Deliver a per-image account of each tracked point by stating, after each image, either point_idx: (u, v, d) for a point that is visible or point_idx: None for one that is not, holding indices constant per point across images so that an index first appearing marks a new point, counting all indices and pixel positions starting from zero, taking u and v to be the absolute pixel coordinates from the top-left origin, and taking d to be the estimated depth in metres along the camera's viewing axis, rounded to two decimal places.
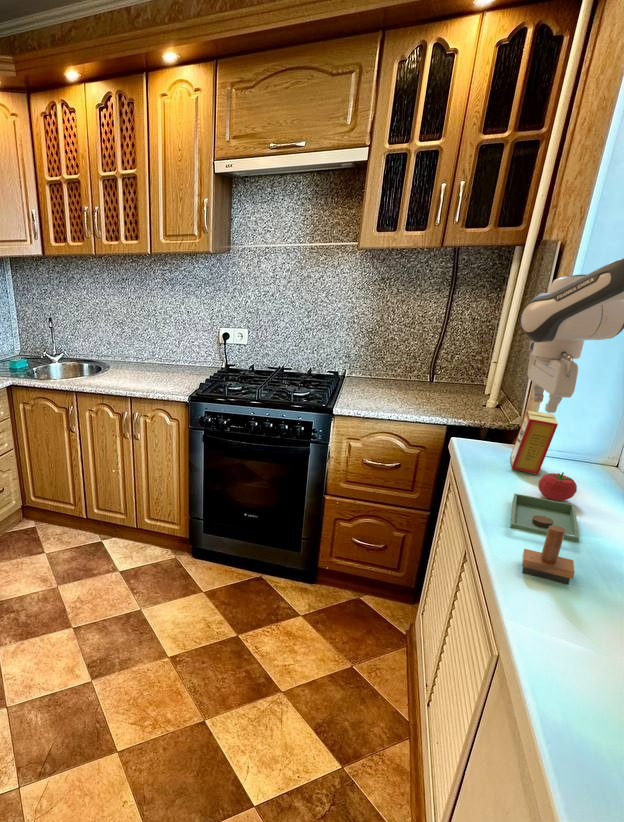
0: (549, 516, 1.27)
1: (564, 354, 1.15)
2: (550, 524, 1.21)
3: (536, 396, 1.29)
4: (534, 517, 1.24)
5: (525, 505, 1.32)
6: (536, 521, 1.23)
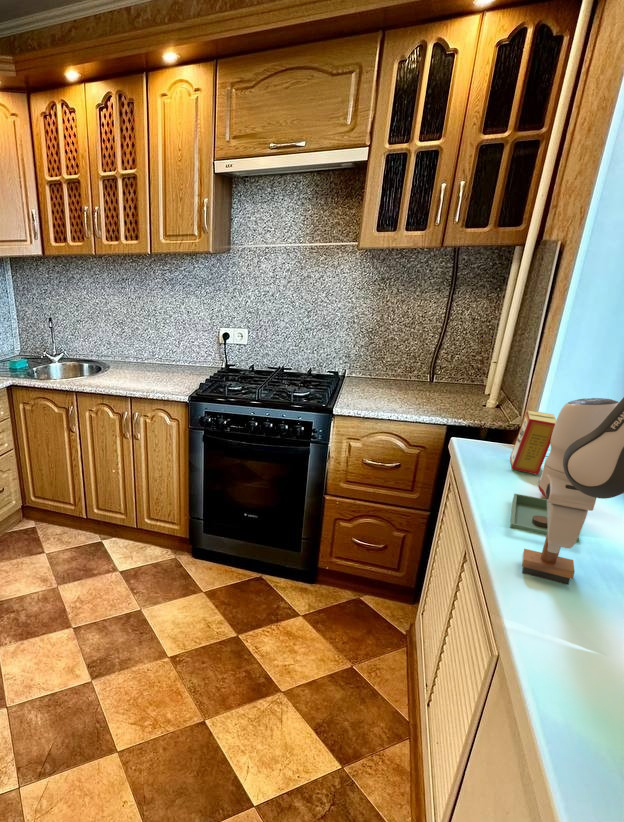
0: None
1: None
2: None
3: None
4: (534, 517, 1.24)
5: (525, 505, 1.32)
6: (536, 521, 1.23)
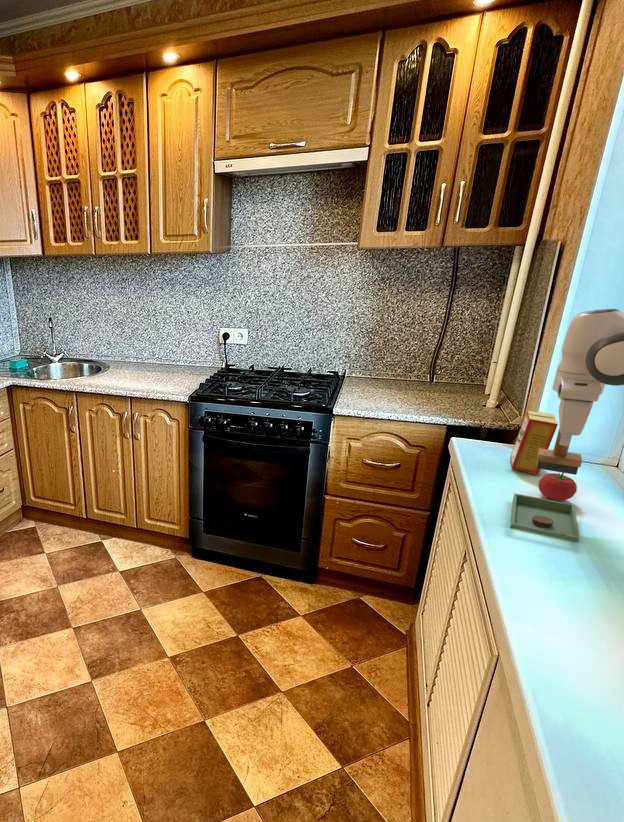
0: (549, 516, 1.27)
1: None
2: (550, 524, 1.21)
3: None
4: (534, 517, 1.24)
5: (525, 505, 1.32)
6: (536, 521, 1.23)
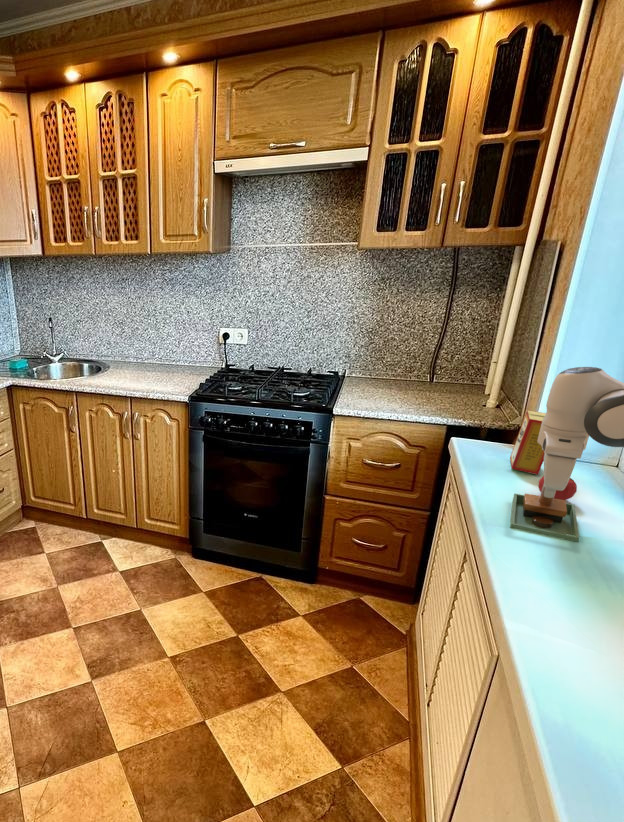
0: None
1: None
2: (550, 524, 1.21)
3: None
4: (534, 517, 1.24)
5: None
6: (536, 521, 1.22)
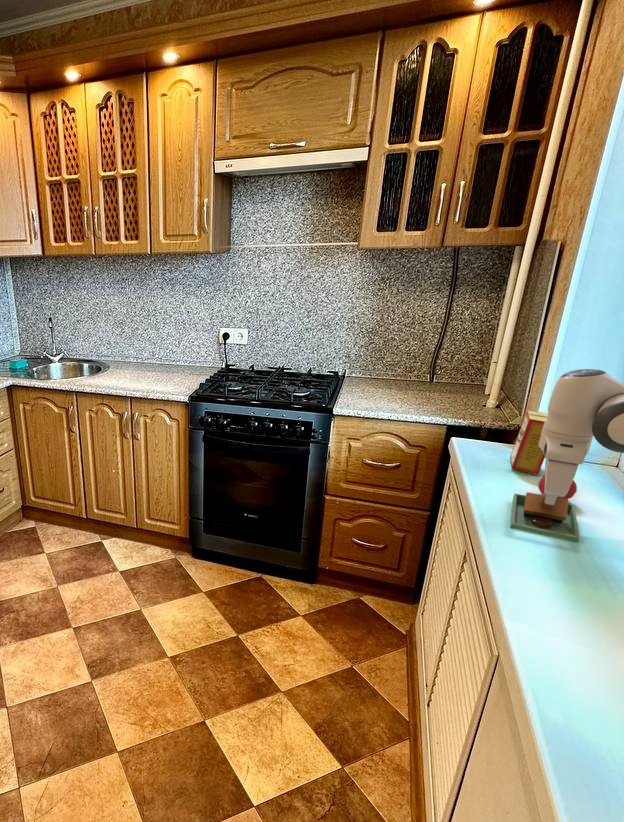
0: None
1: None
2: (549, 525, 1.21)
3: None
4: (533, 518, 1.24)
5: None
6: (535, 522, 1.22)
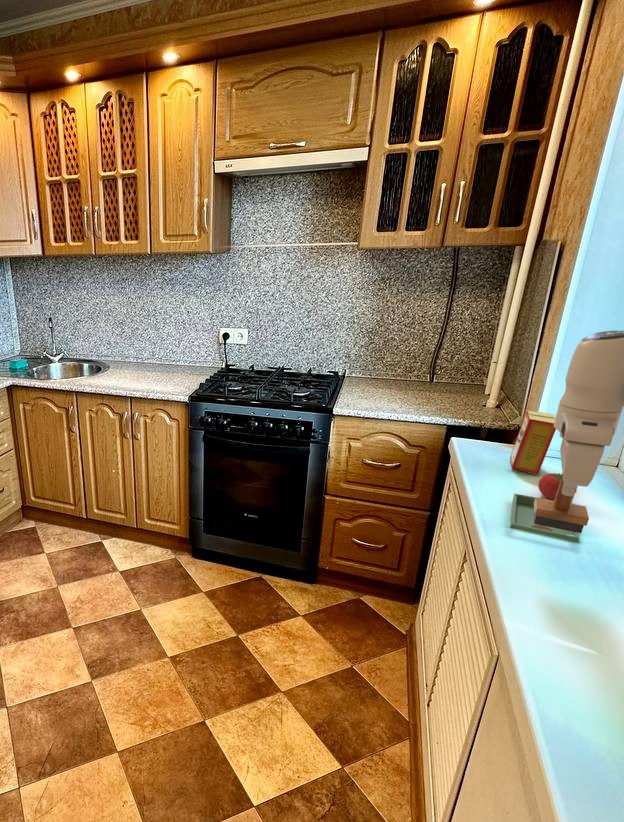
0: None
1: None
2: None
3: None
4: (533, 527, 1.20)
5: (525, 505, 1.32)
6: None
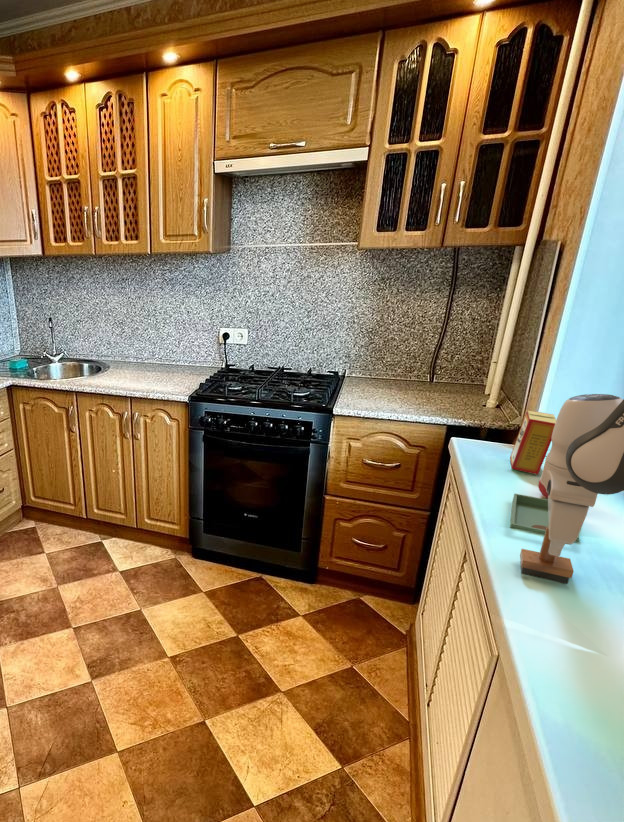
0: None
1: None
2: None
3: None
4: (533, 527, 1.20)
5: (525, 505, 1.32)
6: None
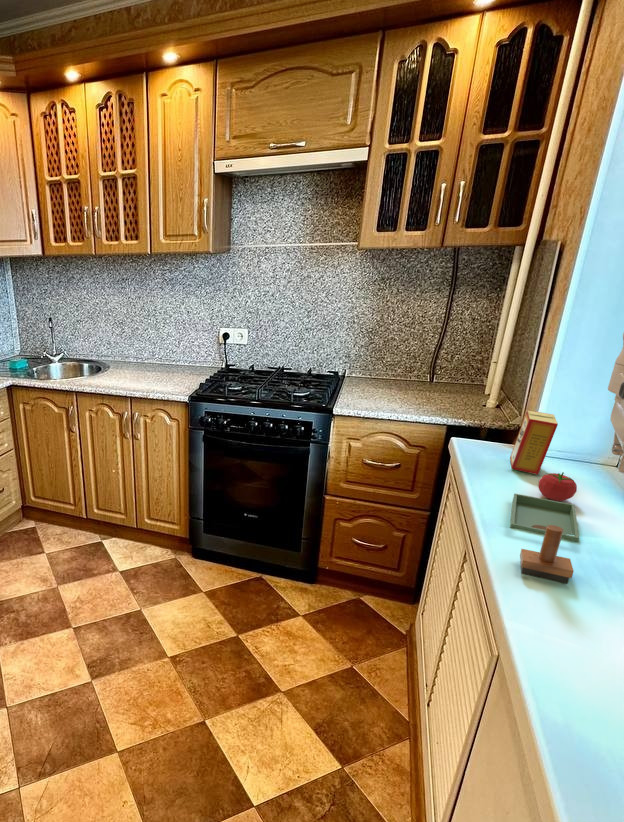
0: (549, 516, 1.27)
1: None
2: None
3: None
4: (533, 527, 1.20)
5: (525, 505, 1.32)
6: None
